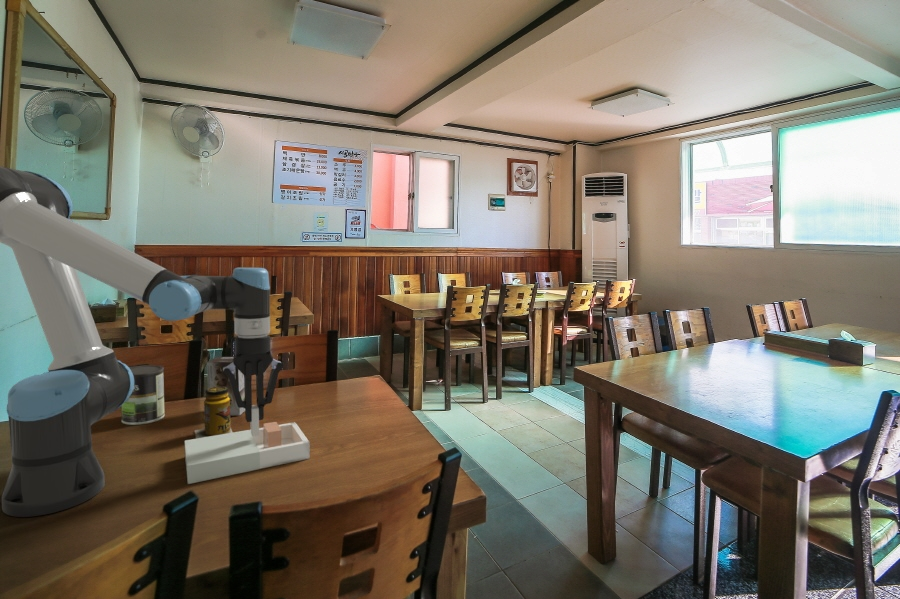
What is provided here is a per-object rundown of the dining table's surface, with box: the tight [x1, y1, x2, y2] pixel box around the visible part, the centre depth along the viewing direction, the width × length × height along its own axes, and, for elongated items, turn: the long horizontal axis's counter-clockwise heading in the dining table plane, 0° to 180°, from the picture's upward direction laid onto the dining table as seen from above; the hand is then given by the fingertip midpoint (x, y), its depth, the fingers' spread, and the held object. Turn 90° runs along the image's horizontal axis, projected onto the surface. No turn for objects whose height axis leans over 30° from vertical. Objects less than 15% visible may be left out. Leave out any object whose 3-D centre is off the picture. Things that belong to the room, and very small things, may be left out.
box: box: [249, 421, 311, 470], centre depth 111 cm, size 11×14×4 cm
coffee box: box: [206, 356, 245, 416], centre depth 135 cm, size 9×6×16 cm
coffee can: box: [120, 364, 166, 426], centre depth 128 cm, size 10×10×14 cm
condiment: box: [194, 386, 233, 439], centre depth 120 cm, size 7×8×12 cm
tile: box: [262, 421, 281, 449], centre depth 110 cm, size 6×6×3 cm
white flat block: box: [184, 429, 261, 485], centre depth 104 cm, size 14×14×4 cm
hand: (254, 433), depth 107 cm, fingers closed
